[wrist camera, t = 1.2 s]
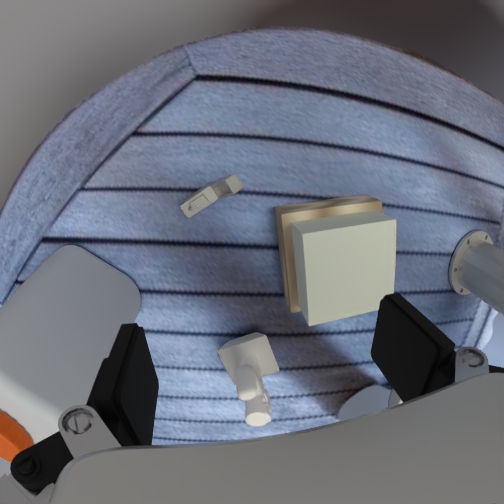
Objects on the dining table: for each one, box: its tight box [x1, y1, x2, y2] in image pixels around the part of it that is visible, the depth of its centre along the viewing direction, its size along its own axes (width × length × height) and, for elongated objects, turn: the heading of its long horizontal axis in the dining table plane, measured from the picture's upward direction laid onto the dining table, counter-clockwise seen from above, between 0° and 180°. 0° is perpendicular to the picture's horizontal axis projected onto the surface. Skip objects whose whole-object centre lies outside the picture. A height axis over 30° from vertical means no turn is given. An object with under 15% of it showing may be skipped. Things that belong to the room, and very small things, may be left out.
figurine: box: [217, 332, 280, 426], centre depth 38 cm, size 7×9×15 cm
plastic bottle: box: [0, 245, 141, 462], centre depth 27 cm, size 15×15×28 cm
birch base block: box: [274, 195, 382, 313], centre depth 39 cm, size 13×13×5 cm
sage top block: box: [291, 210, 396, 326], centre depth 34 cm, size 11×11×5 cm
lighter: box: [180, 174, 243, 218], centre depth 33 cm, size 7×2×8 cm, turn 122°
